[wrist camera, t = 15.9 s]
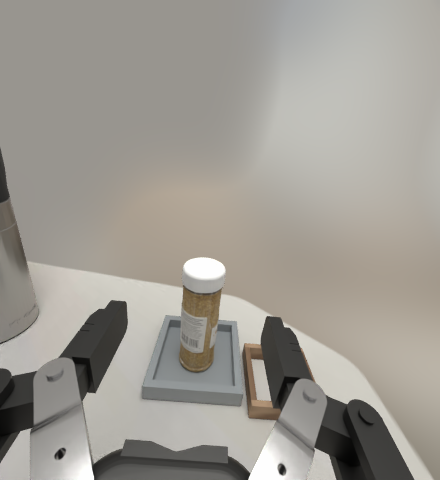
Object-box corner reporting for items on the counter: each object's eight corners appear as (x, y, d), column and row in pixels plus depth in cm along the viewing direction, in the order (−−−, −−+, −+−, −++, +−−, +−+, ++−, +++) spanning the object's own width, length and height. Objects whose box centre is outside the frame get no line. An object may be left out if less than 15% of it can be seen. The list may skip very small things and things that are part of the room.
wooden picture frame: (248, 417, 23) (251, 405, 23) (242, 354, 31) (244, 343, 30) (321, 423, 24) (327, 411, 23) (298, 358, 31) (301, 348, 30)
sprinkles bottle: (221, 360, 29) (235, 269, 23) (191, 381, 26) (200, 283, 20) (199, 337, 32) (207, 252, 26) (171, 353, 29) (174, 262, 23)
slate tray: (142, 398, 24) (142, 386, 23) (165, 325, 34) (165, 315, 33) (240, 406, 24) (243, 394, 24) (234, 331, 34) (236, 321, 33)
